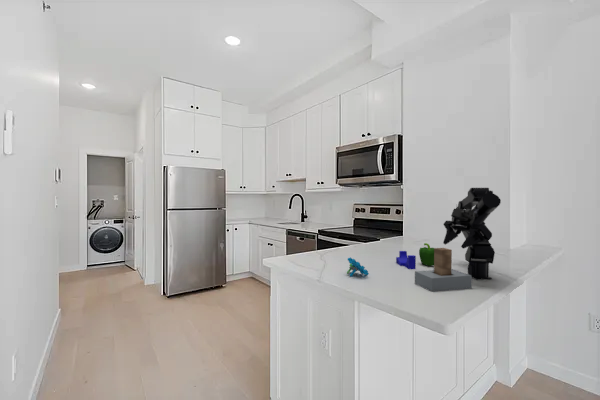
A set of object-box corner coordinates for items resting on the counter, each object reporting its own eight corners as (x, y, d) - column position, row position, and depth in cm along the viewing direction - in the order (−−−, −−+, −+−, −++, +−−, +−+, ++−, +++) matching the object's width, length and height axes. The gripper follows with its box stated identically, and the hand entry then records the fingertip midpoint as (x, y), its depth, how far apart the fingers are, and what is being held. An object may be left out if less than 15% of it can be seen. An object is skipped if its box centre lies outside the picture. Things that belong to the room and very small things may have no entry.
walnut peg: (443, 281, 109) (443, 247, 109) (451, 284, 105) (451, 249, 105) (433, 282, 108) (434, 248, 108) (441, 285, 104) (441, 250, 104)
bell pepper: (442, 266, 135) (443, 245, 135) (426, 267, 134) (426, 245, 134) (431, 262, 144) (432, 242, 144) (416, 263, 142) (416, 242, 142)
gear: (373, 274, 116) (356, 256, 115) (364, 286, 114) (346, 268, 113) (361, 271, 126) (345, 255, 125) (352, 282, 125) (336, 265, 124)
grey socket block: (451, 280, 113) (451, 269, 113) (471, 288, 104) (471, 275, 104) (414, 283, 109) (414, 271, 109) (432, 291, 100) (432, 278, 100)
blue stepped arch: (396, 263, 143) (396, 250, 143) (405, 263, 143) (405, 250, 143) (405, 269, 131) (405, 256, 131) (415, 269, 131) (415, 256, 131)
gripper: (447, 200, 122) (423, 228, 120) (485, 201, 104) (458, 234, 102) (463, 219, 124) (440, 247, 122) (503, 223, 106) (477, 256, 104)
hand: (452, 245), depth 112 cm, fingers open, 9 cm apart
